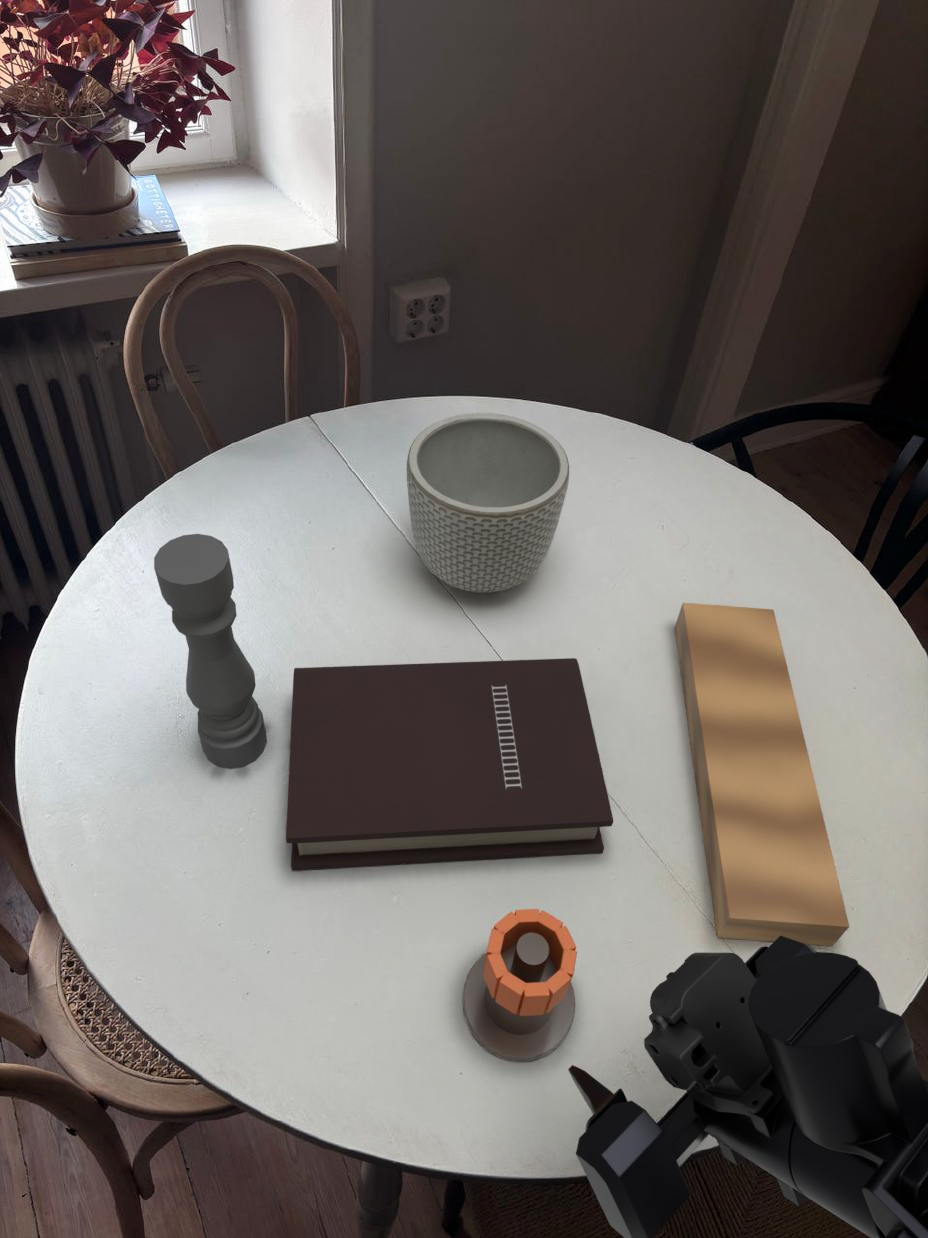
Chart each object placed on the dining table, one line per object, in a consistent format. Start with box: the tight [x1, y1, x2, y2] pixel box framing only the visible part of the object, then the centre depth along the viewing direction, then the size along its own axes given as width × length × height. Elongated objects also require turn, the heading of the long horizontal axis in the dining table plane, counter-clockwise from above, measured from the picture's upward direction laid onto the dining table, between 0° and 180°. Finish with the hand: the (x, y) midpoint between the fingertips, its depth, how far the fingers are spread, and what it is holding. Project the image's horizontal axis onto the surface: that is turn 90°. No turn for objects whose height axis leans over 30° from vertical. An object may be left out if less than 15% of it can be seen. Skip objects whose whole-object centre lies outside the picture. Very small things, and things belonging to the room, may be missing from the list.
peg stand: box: [462, 933, 576, 1063], centre depth 69 cm, size 9×9×11 cm
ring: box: [483, 908, 578, 1016], centre depth 67 cm, size 6×7×4 cm
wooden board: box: [674, 602, 850, 947], centre depth 88 cm, size 36×10×4 cm, turn 177°
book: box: [285, 657, 614, 872], centre depth 86 cm, size 28×20×6 cm
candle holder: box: [153, 533, 268, 770], centre depth 79 cm, size 6×6×25 cm
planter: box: [406, 412, 570, 594], centre depth 101 cm, size 17×17×16 cm
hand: (622, 1024), depth 59 cm, fingers open, 9 cm apart
